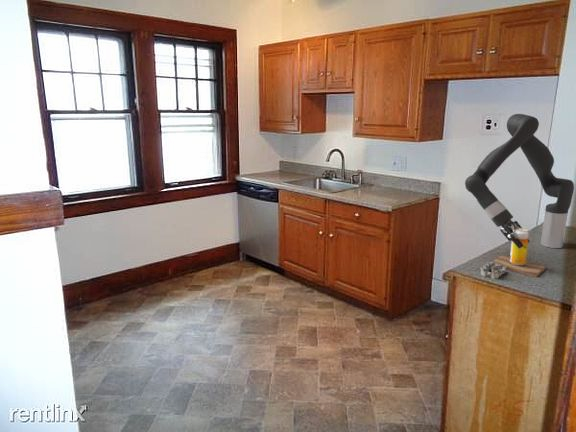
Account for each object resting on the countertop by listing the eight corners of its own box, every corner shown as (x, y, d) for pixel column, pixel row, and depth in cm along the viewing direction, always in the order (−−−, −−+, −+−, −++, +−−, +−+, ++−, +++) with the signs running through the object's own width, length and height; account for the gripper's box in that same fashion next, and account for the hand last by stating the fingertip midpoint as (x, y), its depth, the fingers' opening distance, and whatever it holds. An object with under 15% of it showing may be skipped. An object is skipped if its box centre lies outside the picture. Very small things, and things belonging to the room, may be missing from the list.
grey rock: (496, 280, 163) (497, 271, 162) (477, 275, 169) (478, 266, 168) (507, 273, 170) (508, 264, 169) (489, 268, 176) (490, 259, 175)
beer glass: (527, 266, 172) (531, 231, 169) (512, 265, 173) (515, 231, 170) (522, 261, 178) (526, 228, 174) (507, 260, 179) (510, 227, 176)
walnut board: (501, 258, 186) (501, 255, 186) (546, 268, 174) (546, 265, 173) (490, 265, 178) (490, 262, 177) (536, 277, 165) (536, 273, 165)
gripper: (499, 211, 170) (526, 244, 165) (511, 205, 179) (538, 236, 174) (484, 221, 175) (511, 253, 170) (497, 215, 185) (522, 245, 179)
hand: (524, 245), depth 172 cm, fingers open, 7 cm apart
